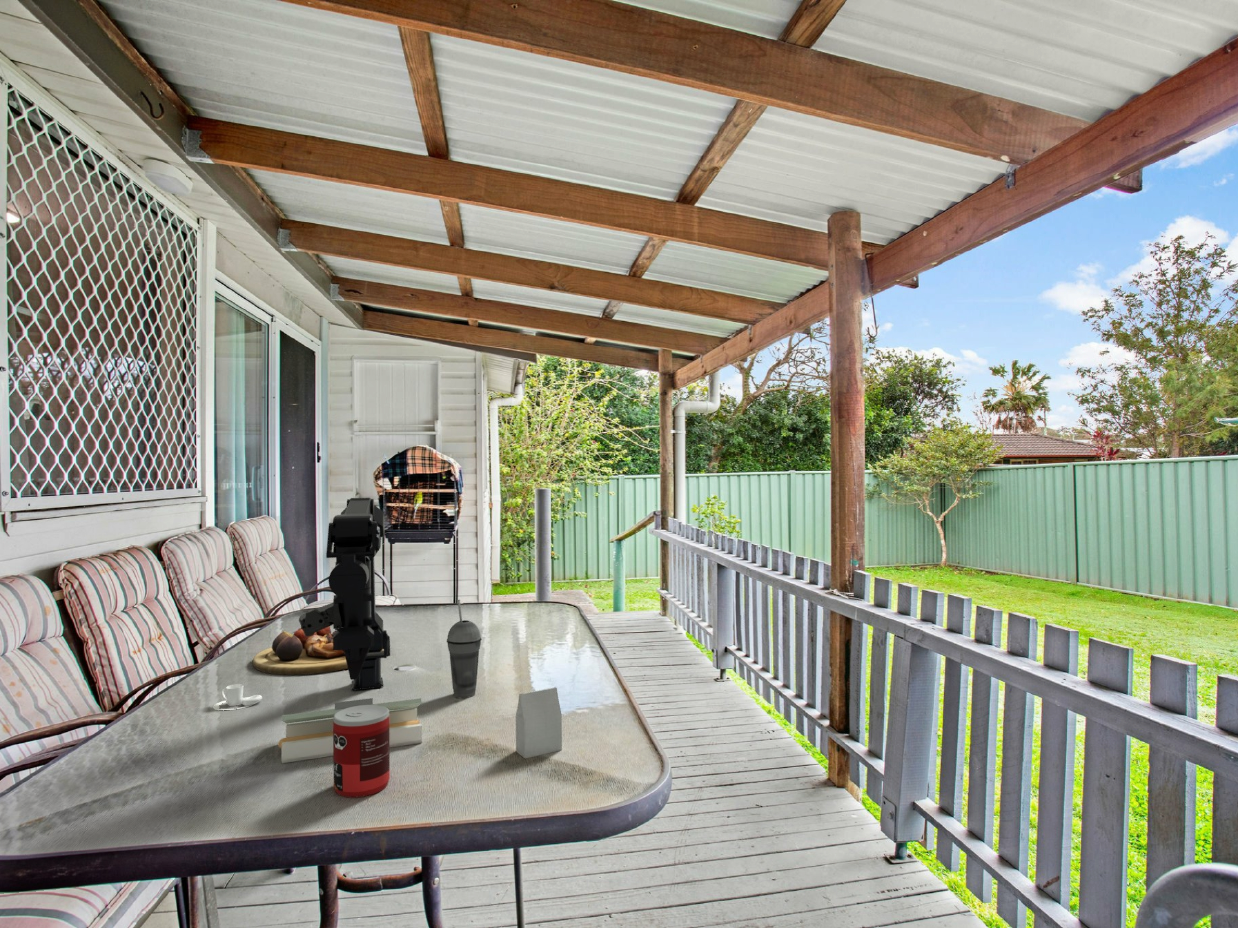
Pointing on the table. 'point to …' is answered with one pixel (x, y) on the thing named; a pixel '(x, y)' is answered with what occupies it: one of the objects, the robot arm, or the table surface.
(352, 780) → the canned food
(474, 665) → the beverage cup
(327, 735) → the orange rounded bar
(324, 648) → the wooden plate with food
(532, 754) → the grey gable bag
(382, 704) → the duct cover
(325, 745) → the cable duct
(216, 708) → the teacup and saucer
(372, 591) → the robot arm
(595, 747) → the table surface
